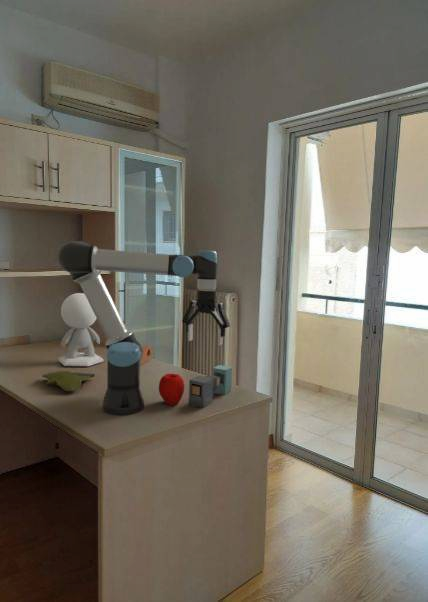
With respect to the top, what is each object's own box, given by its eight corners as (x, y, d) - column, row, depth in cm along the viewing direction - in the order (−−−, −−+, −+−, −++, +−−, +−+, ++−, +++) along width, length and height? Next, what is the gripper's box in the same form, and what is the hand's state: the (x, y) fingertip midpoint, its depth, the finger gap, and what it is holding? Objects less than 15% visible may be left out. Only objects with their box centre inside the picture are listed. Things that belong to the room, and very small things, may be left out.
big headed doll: (92, 354, 244) (92, 290, 240) (107, 364, 225) (107, 295, 221) (55, 358, 233) (54, 291, 229) (67, 368, 214) (66, 296, 210)
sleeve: (203, 409, 166) (204, 382, 165) (188, 406, 169) (189, 379, 168) (212, 404, 172) (213, 378, 171) (198, 401, 175) (198, 375, 174)
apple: (152, 403, 171) (153, 372, 169) (172, 397, 178) (172, 368, 177) (170, 410, 164) (170, 378, 163) (189, 404, 171) (190, 373, 170)
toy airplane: (110, 386, 190) (110, 375, 189) (61, 397, 175) (61, 385, 174) (80, 372, 210) (80, 361, 209) (33, 380, 195) (33, 369, 194)
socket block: (225, 396, 182) (226, 370, 180) (212, 393, 185) (213, 367, 183) (231, 392, 187) (232, 367, 185) (218, 390, 189) (219, 364, 188)
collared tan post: (201, 397, 165) (201, 385, 165) (190, 395, 168) (190, 383, 167) (221, 386, 179) (221, 375, 179) (210, 384, 182) (211, 373, 181)
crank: (138, 357, 241) (138, 342, 240) (151, 358, 239) (151, 344, 238) (120, 366, 222) (120, 351, 221) (135, 368, 220) (135, 352, 219)
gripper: (239, 291, 173) (237, 344, 176) (184, 286, 184) (182, 337, 187) (231, 292, 167) (229, 348, 169) (174, 288, 178) (173, 340, 180)
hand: (205, 342), depth 178 cm, fingers open, 13 cm apart
